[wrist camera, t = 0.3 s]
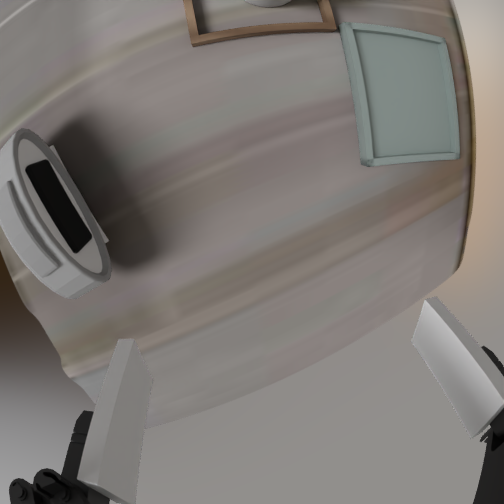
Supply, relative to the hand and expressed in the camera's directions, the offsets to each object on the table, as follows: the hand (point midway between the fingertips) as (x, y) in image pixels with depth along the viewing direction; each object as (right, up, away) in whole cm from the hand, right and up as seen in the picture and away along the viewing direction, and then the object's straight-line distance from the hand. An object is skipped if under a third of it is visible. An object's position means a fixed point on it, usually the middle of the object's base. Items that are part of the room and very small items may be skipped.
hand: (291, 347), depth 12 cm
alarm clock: (-28, +12, +22) cm, 38 cm away
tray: (+20, +27, +19) cm, 39 cm away
